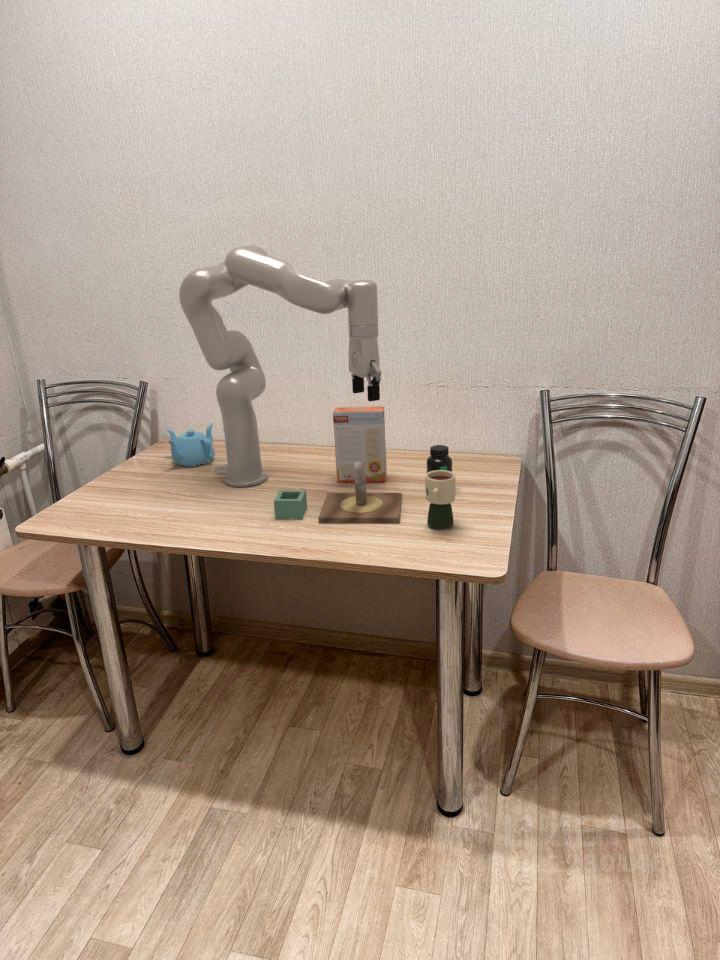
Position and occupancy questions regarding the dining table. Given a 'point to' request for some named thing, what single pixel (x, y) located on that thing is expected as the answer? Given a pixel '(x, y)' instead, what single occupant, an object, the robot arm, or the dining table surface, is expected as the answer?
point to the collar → (290, 504)
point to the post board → (372, 517)
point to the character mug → (440, 497)
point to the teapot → (192, 447)
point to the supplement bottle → (439, 459)
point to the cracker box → (360, 442)
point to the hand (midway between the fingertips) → (366, 396)
